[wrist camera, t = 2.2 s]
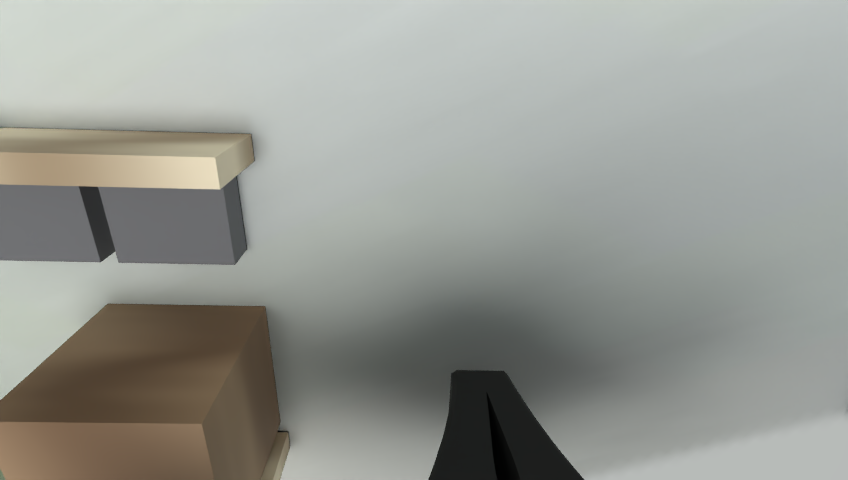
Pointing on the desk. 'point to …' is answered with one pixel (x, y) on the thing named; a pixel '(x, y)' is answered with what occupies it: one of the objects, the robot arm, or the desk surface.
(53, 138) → the green beige u-shaped frame
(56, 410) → the block
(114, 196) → the tiles
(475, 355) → the desk surface
